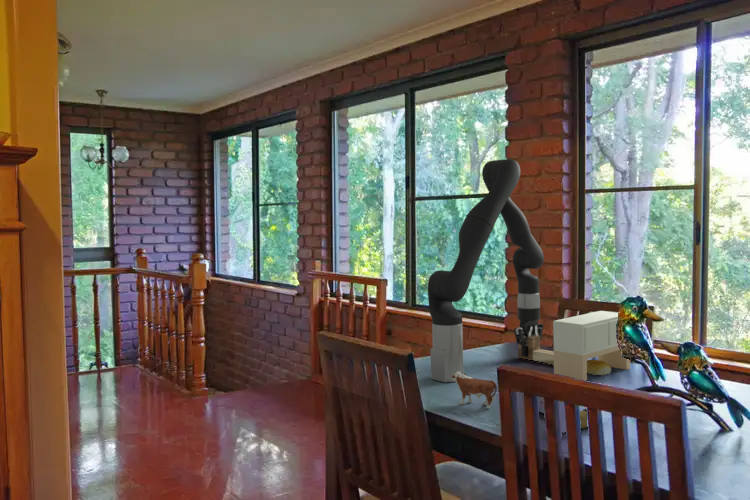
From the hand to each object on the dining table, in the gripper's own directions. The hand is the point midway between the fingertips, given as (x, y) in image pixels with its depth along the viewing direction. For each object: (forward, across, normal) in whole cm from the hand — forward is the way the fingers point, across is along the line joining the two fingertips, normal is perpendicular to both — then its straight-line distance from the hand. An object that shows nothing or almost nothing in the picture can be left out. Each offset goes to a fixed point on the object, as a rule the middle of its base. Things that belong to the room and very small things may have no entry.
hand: (529, 355), depth 214 cm
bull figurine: (+1, -52, -21) cm, 56 cm away
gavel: (+2, -46, -42) cm, 63 cm away
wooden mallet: (+1, 0, -9) cm, 9 cm away
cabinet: (+1, -2, -26) cm, 26 cm away
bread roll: (+2, 0, -26) cm, 26 cm away
